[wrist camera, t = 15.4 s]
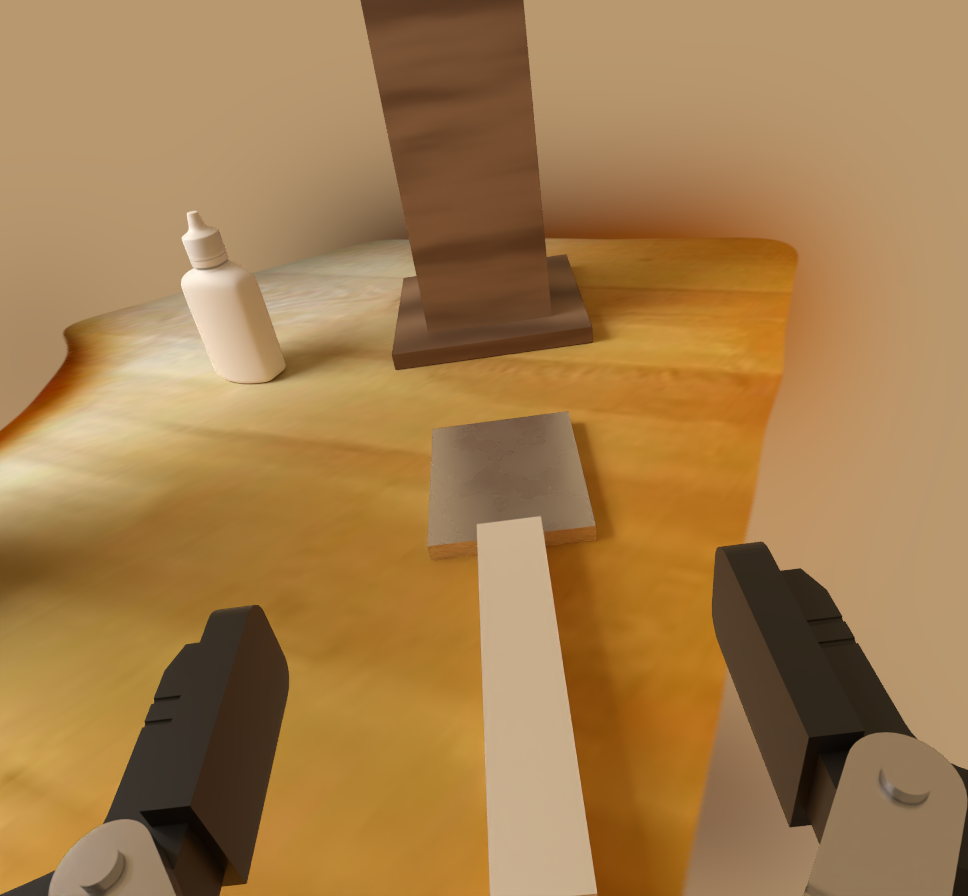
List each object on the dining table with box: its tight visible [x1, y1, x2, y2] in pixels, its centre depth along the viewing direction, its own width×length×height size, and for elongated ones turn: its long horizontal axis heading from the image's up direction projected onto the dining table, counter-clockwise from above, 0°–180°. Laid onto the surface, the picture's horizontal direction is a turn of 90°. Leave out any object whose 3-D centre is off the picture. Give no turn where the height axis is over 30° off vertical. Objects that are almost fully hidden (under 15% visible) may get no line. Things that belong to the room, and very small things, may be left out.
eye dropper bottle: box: [181, 211, 286, 383], centre depth 50 cm, size 4×6×12 cm
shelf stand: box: [361, 0, 593, 370], centre depth 46 cm, size 18×14×32 cm
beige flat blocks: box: [427, 411, 597, 896], centre depth 31 cm, size 26×8×2 cm, turn 2°
